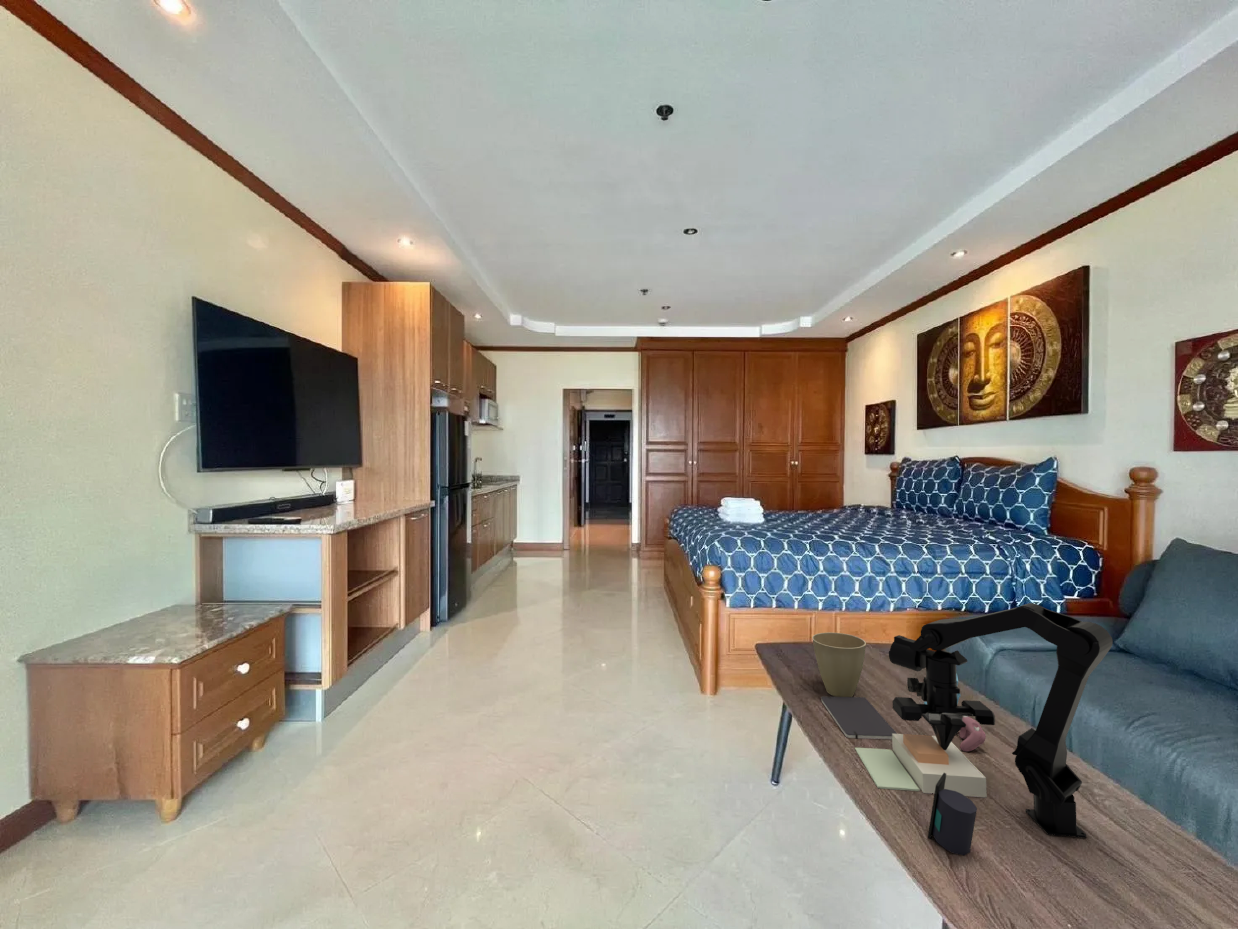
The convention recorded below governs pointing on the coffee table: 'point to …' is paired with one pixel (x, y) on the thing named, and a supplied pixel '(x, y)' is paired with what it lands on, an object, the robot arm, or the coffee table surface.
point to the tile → (925, 749)
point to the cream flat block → (942, 770)
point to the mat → (886, 769)
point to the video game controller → (971, 734)
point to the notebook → (857, 718)
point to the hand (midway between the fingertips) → (943, 749)
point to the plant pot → (839, 661)
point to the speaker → (952, 819)
